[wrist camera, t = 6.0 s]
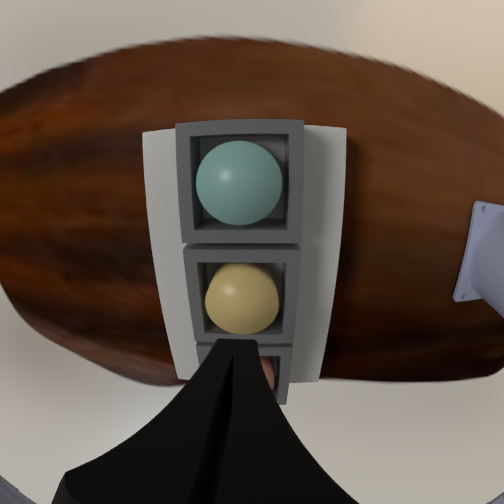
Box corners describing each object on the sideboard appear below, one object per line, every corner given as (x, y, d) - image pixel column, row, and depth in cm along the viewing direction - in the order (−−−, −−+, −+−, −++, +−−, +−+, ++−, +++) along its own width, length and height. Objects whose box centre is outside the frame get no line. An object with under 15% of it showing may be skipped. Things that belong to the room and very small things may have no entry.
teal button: (279, 142, 12) (282, 140, 10) (278, 214, 13) (281, 225, 11) (204, 143, 12) (194, 142, 10) (206, 214, 13) (198, 225, 11)
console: (335, 130, 13) (360, 125, 10) (314, 362, 19) (322, 402, 16) (156, 134, 14) (124, 131, 10) (184, 360, 20) (171, 398, 16)
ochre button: (277, 256, 14) (280, 272, 12) (275, 313, 15) (277, 334, 13) (209, 255, 14) (202, 271, 12) (214, 312, 15) (208, 333, 13)
